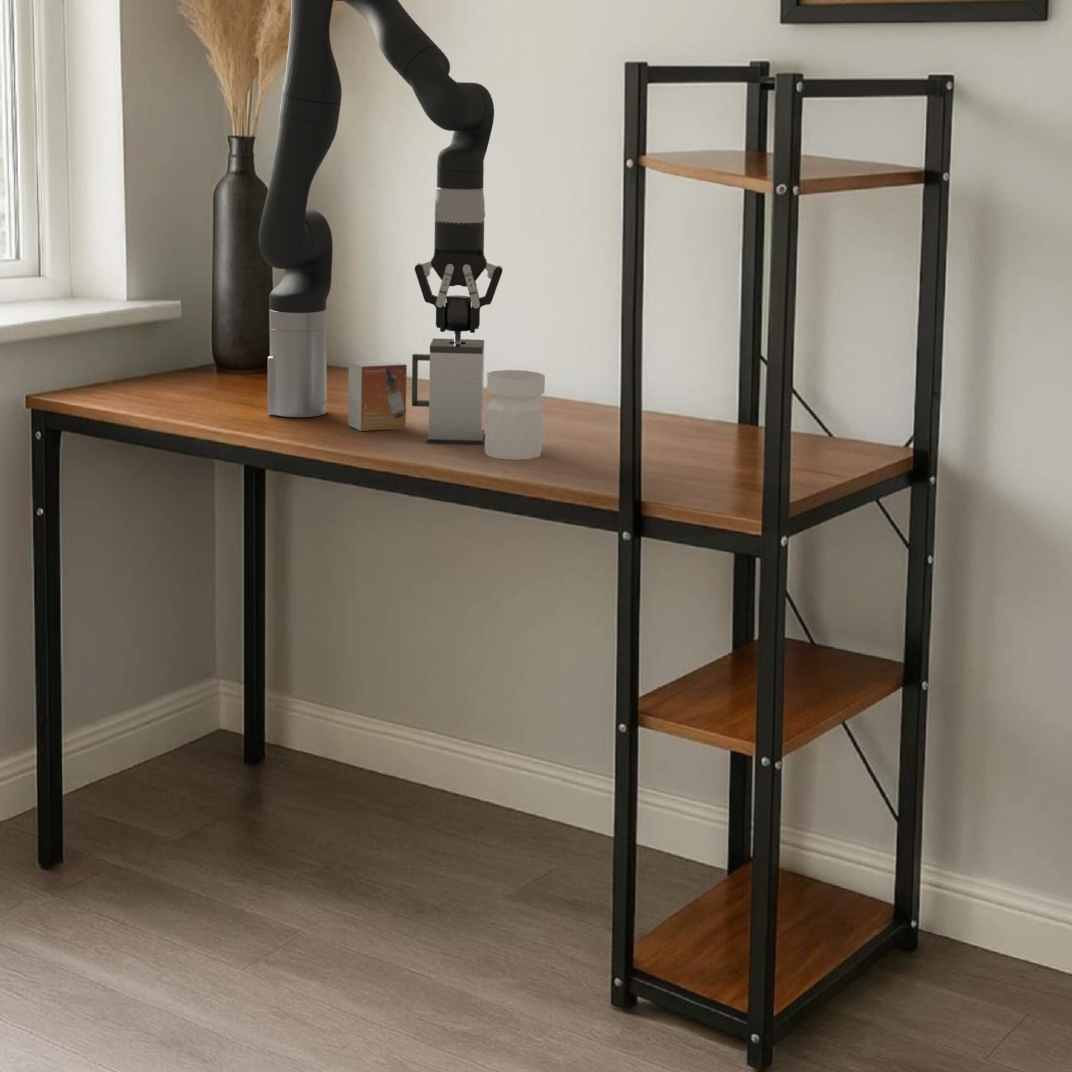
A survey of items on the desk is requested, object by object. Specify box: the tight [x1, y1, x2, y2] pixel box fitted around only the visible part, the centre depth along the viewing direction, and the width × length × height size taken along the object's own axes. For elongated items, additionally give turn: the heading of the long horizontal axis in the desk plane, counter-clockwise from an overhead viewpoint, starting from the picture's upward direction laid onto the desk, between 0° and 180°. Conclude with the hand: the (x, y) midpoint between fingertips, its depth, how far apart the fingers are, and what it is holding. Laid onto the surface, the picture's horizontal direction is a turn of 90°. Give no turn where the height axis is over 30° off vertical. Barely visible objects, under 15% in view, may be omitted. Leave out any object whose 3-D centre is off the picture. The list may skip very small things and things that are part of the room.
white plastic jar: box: [484, 369, 546, 461], centre depth 252 cm, size 9×9×12 cm
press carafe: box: [411, 338, 485, 446], centre depth 261 cm, size 11×9×15 cm
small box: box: [347, 359, 408, 432], centre depth 268 cm, size 8×6×10 cm
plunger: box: [444, 294, 472, 344], centre depth 260 cm, size 5×5×21 cm
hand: (457, 331), depth 259 cm, fingers closed on plunger, 4 cm apart
